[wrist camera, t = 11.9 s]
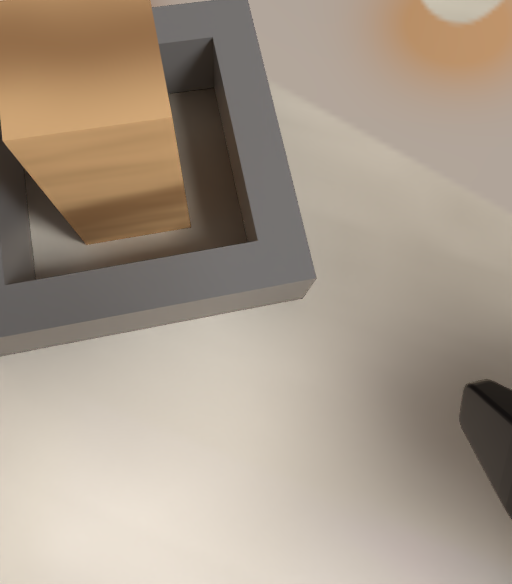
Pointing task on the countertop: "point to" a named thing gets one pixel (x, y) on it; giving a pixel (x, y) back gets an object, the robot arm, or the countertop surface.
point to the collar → (185, 267)
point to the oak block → (92, 114)
